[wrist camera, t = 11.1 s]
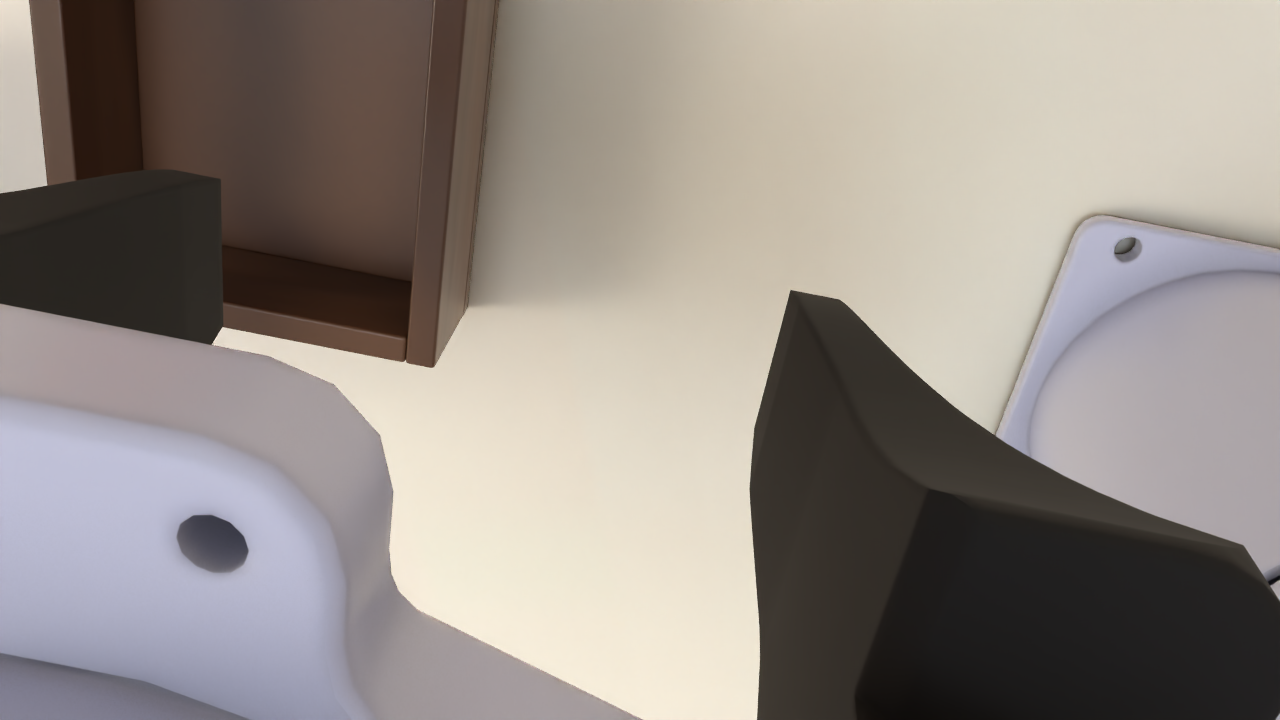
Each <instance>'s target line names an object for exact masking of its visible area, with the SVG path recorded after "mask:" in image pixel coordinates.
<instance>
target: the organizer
mask: <svg viewBox="0 0 1280 720" xmlns="http://www.w3.org/2000/svg"><path fill="white" fill-rule="evenodd" d="M29 4H30V14H31V24H32V34H33V44H34V54H35V64H36V74H37V84H38V94H39V105H40V115H41V125H42V135H43V145H44V155H45V165H46V175H47V185H48V186H49V185H55V184H60V183H66V182H71V181H77V180H83V179H88V178H94V177H100V176H106V175H112V174H119V173H126V172H134V171H143V170H156V169H166V170H178V171H183V172H188V173H193V174H198V175H203V176H208V177H213V178H219V179H221V216H222V271H223V326H222V327H226V328H231V329H236V330H241V331H246V332H251V333H256V334H261V335H267V336H272V337H277V338H282V339H287V340H292V341H297V342H302V343H308V344H313V345H318V346H323V347H328V348H333V349H338V350H343V351H348V352H354V353H359V354H364V355H369V356H374V357H379V358H384V359H389V360H395V361H400V362H404V361H405V360H406V362H407V363H409V364H415V365H420V366H425V367H430V368H433V367H434V366H435V365H436V363H437V361H438V359H439V357H440V356H441V354H442V352H443V350H444V348H445V347H446V345H447V343H448V341H449V339H450V338H451V336H452V334H453V332H454V330H455V329H456V327H457V325H458V323H459V321H460V320H461V318H462V316H463V315H464V313H465V311H466V309H467V307H468V298H469V288H470V279H471V269H472V259H473V250H474V240H475V230H476V221H477V211H478V201H479V192H480V182H481V172H482V163H483V153H484V143H485V134H486V124H487V114H488V105H489V95H490V85H491V76H492V66H493V56H494V47H495V37H496V27H497V18H498V8H499V0H29Z"/></svg>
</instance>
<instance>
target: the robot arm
mask: <svg viewBox="0 0 1280 720" xmlns="http://www.w3.org/2000/svg"><path fill="white" fill-rule="evenodd" d="M1128 237H1134V238H1136V242H1135V246H1134V247H1133V248H1132V250H1131V251H1129V252H1127V253H1125V254H1115V253H1114V250H1115V246H1116V245H1117V244H1118V242H1119V241H1121V240H1122V239H1124V238H1128ZM222 326H223V271H222V216H221V179H219V178H213V177H208V176H203V175H198V174H193V173H188V172H183V171H178V170H166V169H156V170H143V171H134V172H126V173H119V174H112V175H106V176H100V177H94V178H88V179H83V180H77V181H71V182H66V183H60V184H55V185H49V186H43V187H38V188H32V189H26V190H20V191H14V192H7V193H1V194H0V720H642V719H640V718H638V717H636V716H634V715H632V714H630V713H628V712H626V711H624V710H622V709H620V708H618V707H616V706H614V705H612V704H609V703H607V702H605V701H603V700H601V699H599V698H597V697H595V696H593V695H591V694H589V693H587V692H585V691H583V690H581V689H579V688H577V687H575V686H573V685H571V684H569V683H566V682H564V681H562V680H560V679H558V678H556V677H554V676H552V675H550V674H548V673H546V672H544V671H542V670H540V669H538V668H536V667H534V666H532V665H530V664H528V663H526V662H524V661H521V660H519V659H517V658H515V657H513V656H511V655H509V654H507V653H505V652H503V651H501V650H499V649H497V648H495V647H493V646H491V645H489V644H487V643H485V642H483V641H481V640H478V639H476V638H474V637H472V636H470V635H468V634H466V633H464V632H462V631H460V630H458V629H456V628H454V627H452V626H450V625H448V624H446V623H444V622H442V621H440V620H438V619H436V618H433V617H431V616H429V615H427V614H425V613H423V612H421V611H419V610H418V609H416V608H415V607H414V606H413V605H412V604H411V603H410V602H409V601H408V600H407V599H406V598H405V597H404V596H403V595H402V594H401V593H400V592H399V590H398V589H397V586H396V584H395V582H394V579H393V577H392V575H391V564H390V553H389V544H390V530H391V517H392V503H393V488H392V484H391V480H390V476H389V471H388V467H387V463H386V459H385V454H384V450H383V446H382V442H381V438H380V435H379V434H378V432H377V431H376V430H375V429H374V428H373V427H372V426H371V425H370V424H369V423H368V421H367V420H366V419H365V418H364V417H363V416H362V415H361V414H360V413H359V412H358V410H357V409H356V408H355V407H354V406H353V405H352V404H351V403H350V402H349V401H348V399H347V398H346V397H345V396H344V395H343V394H342V393H341V392H340V391H339V389H338V388H337V387H336V386H335V385H334V384H331V383H329V382H327V381H324V380H322V379H320V378H317V377H315V376H313V375H311V374H308V373H306V372H304V371H301V370H299V369H297V368H294V367H292V366H290V365H287V364H285V363H283V362H280V361H278V360H276V359H274V358H271V357H269V356H265V355H260V354H254V353H249V352H244V351H239V350H234V349H229V348H224V347H219V346H214V345H212V343H213V341H214V340H215V338H216V336H217V335H218V333H219V331H220V330H221V328H222ZM750 504H751V519H752V533H753V546H754V559H755V572H756V585H757V599H758V612H759V625H760V671H759V693H758V714H757V720H1280V249H1277V248H1272V247H1267V246H1262V245H1256V244H1251V243H1246V242H1241V241H1236V240H1231V239H1226V238H1221V237H1215V236H1210V235H1205V234H1200V233H1195V232H1190V231H1185V230H1179V229H1174V228H1169V227H1164V226H1159V225H1154V224H1149V223H1144V222H1138V221H1133V220H1128V219H1123V218H1118V217H1113V216H1102V215H1098V216H1095V217H1092V218H1089V219H1087V220H1086V221H1085V222H1083V223H1082V224H1081V225H1079V227H1078V229H1077V230H1076V232H1075V233H1074V236H1073V238H1072V241H1071V243H1070V246H1069V249H1068V251H1067V254H1066V256H1065V259H1064V261H1063V264H1062V266H1061V269H1060V272H1059V274H1058V277H1057V279H1056V282H1055V284H1054V287H1053V290H1052V292H1051V295H1050V297H1049V300H1048V302H1047V305H1046V307H1045V310H1044V313H1043V315H1042V318H1041V320H1040V323H1039V325H1038V328H1037V330H1036V333H1035V336H1034V338H1033V341H1032V343H1031V346H1030V348H1029V351H1028V353H1027V356H1026V359H1025V361H1024V364H1023V366H1022V369H1021V371H1020V374H1019V376H1018V379H1017V382H1016V384H1015V387H1014V389H1013V392H1012V394H1011V397H1010V399H1009V402H1008V405H1007V407H1006V410H1005V412H1004V415H1003V417H1002V420H1001V422H1000V425H999V428H998V430H997V433H996V435H993V434H992V433H990V432H989V431H988V430H986V429H985V428H983V427H982V426H980V425H979V424H977V423H976V422H974V421H973V420H971V419H970V418H969V417H967V416H966V415H965V414H963V413H962V412H961V411H959V410H958V409H957V408H955V407H954V406H953V405H951V404H950V403H949V402H948V401H947V400H945V399H944V398H943V397H942V396H941V395H940V394H938V393H937V392H936V391H935V390H934V389H933V388H931V387H930V386H929V385H928V384H927V383H925V382H924V381H923V380H922V379H921V378H920V377H919V376H918V375H917V374H915V373H914V372H913V371H912V370H911V369H910V368H909V367H908V366H907V365H906V364H905V363H904V362H903V361H902V360H901V359H900V358H899V357H898V356H897V355H896V354H895V353H894V352H893V351H892V350H891V349H890V348H889V347H888V346H887V345H886V344H885V343H884V342H883V341H882V340H881V339H880V338H879V337H878V336H877V335H876V334H875V333H874V332H873V331H872V330H871V329H870V328H869V327H868V326H867V325H866V324H865V323H864V322H863V321H862V320H861V319H860V318H859V317H858V316H857V315H856V314H855V313H854V312H853V311H852V310H851V309H850V308H849V307H848V306H847V305H846V304H845V303H843V302H842V301H841V300H839V299H834V298H829V297H823V296H818V295H813V294H808V293H803V292H798V291H793V290H791V291H790V294H789V298H788V302H787V306H786V310H785V314H784V317H783V321H782V325H781V329H780V333H779V336H778V340H777V344H776V348H775V352H774V356H773V359H772V363H771V367H770V371H769V375H768V378H767V382H766V386H765V390H764V394H763V398H762V401H761V405H760V409H759V413H758V417H757V420H756V424H755V428H754V439H753V451H752V463H751V477H750Z"/></svg>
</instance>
